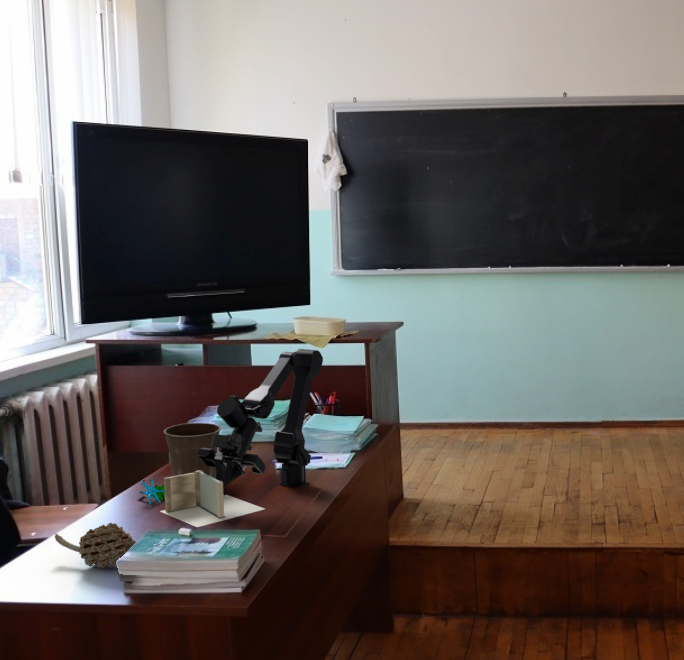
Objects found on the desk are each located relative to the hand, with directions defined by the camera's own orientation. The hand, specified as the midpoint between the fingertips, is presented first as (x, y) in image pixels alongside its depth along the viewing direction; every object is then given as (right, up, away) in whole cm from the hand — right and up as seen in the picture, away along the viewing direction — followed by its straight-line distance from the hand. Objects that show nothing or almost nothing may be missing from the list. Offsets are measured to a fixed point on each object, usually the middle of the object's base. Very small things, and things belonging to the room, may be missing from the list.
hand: (218, 489), depth 249 cm
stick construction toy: (-20, -6, +15) cm, 25 cm away
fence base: (-10, -6, +6) cm, 13 cm away
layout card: (-2, -7, +4) cm, 8 cm away
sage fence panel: (-2, -6, +2) cm, 7 cm away
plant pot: (-11, -4, +31) cm, 33 cm away
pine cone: (-24, -12, -33) cm, 42 cm away
